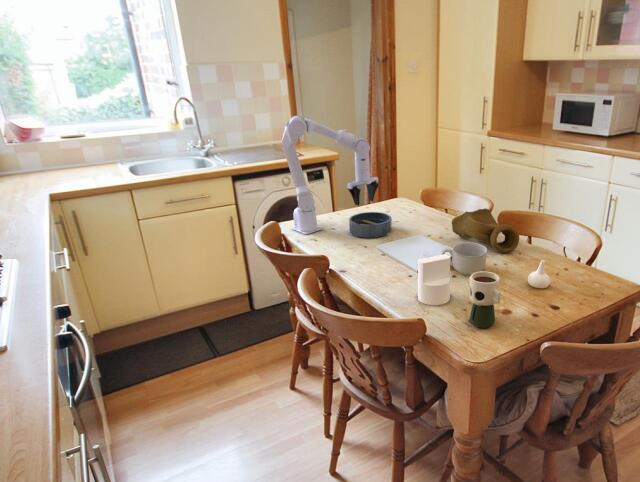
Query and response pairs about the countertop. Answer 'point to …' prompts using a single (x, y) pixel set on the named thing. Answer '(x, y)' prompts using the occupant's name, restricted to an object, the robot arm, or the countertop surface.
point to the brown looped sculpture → (485, 230)
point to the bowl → (370, 230)
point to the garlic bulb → (539, 277)
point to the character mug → (484, 297)
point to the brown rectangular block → (367, 222)
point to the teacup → (467, 257)
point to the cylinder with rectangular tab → (434, 280)
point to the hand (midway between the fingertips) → (364, 202)
